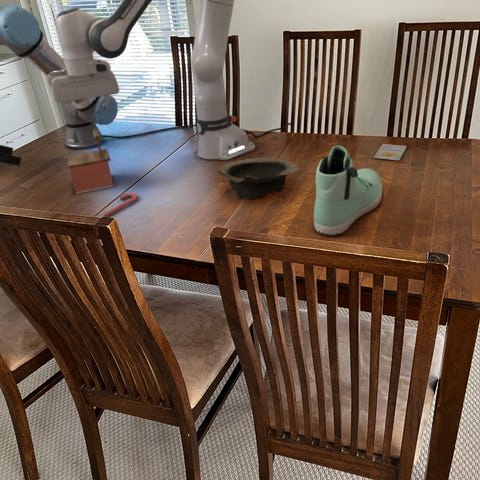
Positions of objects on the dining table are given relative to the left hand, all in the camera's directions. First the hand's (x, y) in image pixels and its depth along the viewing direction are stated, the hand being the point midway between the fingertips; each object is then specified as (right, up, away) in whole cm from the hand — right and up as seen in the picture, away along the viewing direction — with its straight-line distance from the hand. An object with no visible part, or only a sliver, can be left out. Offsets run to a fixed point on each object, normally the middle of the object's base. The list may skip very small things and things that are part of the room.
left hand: (16, 156), depth 156 cm
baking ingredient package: (+127, +4, +16) cm, 128 cm away
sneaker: (+104, -18, -17) cm, 107 cm away
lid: (+22, 0, +6) cm, 23 cm away
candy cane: (+35, -17, -6) cm, 40 cm away
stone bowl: (+79, -10, -1) cm, 80 cm away
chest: (+22, -8, +10) cm, 26 cm away
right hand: (+25, +14, -1) cm, 29 cm away
